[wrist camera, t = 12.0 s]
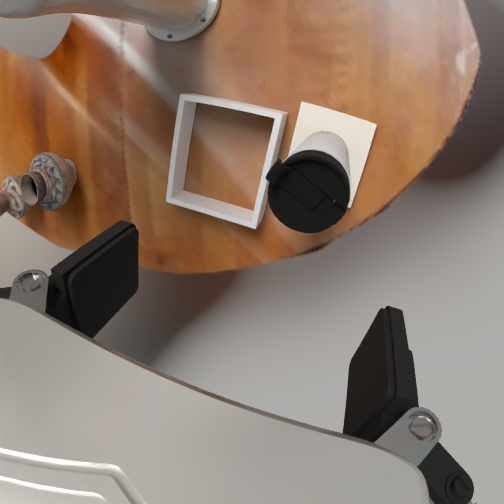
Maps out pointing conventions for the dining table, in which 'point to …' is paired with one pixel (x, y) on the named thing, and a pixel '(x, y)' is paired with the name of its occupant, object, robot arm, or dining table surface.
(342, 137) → the pad
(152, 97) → the dining table surface
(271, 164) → the bin
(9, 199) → the pottery
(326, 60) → the dining table surface
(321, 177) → the travel mug
